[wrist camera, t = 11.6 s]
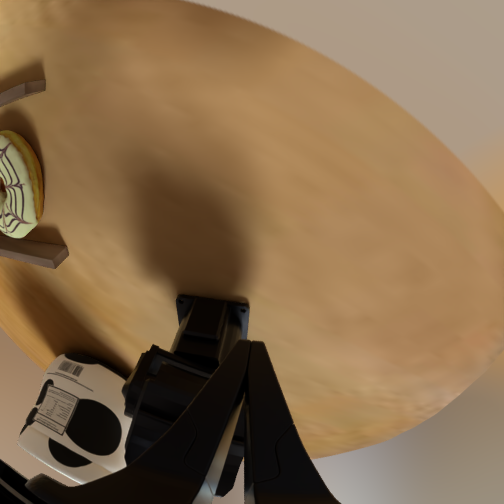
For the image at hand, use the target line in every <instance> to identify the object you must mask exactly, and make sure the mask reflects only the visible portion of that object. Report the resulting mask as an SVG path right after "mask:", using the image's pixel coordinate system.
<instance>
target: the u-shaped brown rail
mask: <svg viewBox="0 0 504 504" xmlns="http://www.w3.org/2000/svg"><path fill="white" fill-rule="evenodd" d="M42 91H45V80H39V81H32V82H25V83H23V84H20V85H18V86H15V87H13V88H11V89H9V90H6V91H4V92H2V93H0V107H1V106H4V105H6V104H9V103H11V102H14V101H16V100H19V99H22V98H24V97H27V96H30V95H33V94H36V93H39V92H42ZM0 256H3V257H7V258H11V259H15V260H18V261H23V262H27V263H31V264H35V265H39V266H43V267H48V268H52V269H56V268H57V267H58V266H59V265H60V264H61V263H62V262H63V261H64V260H65V259H66V258H67V257H68V256H69V253H68V249H67V246H61V245H55V244H48V243H42V242H36V241H30V240H24V239H18V238H12V237H6V236H0Z"/></svg>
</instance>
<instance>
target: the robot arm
mask: <svg viewBox="0 0 504 504" xmlns="http://www.w3.org/2000/svg"><path fill="white" fill-rule="evenodd" d="M181 300H183V301H181ZM176 306H177V313H178V321H179V329H178V332H177V334H176V337H175V339H174V342H173V344H172V347H171V349H170V352H168V351H166V350H163V349H161V348H159V346H156V345H154V344H153V345H152V347H151V348H150V350H149V351H146V353H142V354H141V356H140V359H139V361H138V363H137V365H136V367H135V369H134V371H133V372H132V374H131V375H130V376H129V378H128V379H127V381H126V382H125V384H124V385H123V387H122V391H121V392H122V394H123V396H124V399H125V403H124V405H125V410H124V415H125V416H127V417H129V418H132V421H131V425H130V428H129V431H128V435H127V438H126V442H125V446H124V447H125V454H124V459H125V462H126V467H125V468H123V469H121V470H119V471H117V472H114V473H112V474H109V475H107V476H104V477H101V478H99V479H96V480H93V481H91V482H88V483H85V484H82V485H79V486H75V487H68V486H66V485H64V484H62V483H60V482H58V481H56V480H54V479H52V478H51V477H49V476H47V475H45V474H42V473H41V474H39V475H37V476H35V477H34V478H32V479H30V480H29V479H27V478H26V477H24V476H23V475H21V474H20V473H19V472H18V471H16V470H15V469H14V468H12V467H11V466H10V465H8V464H7V463H5V462H4V461H2V460H1V459H0V504H212V501H213V497H214V496H216V497H224V496H225V495H226V494H227V493H228V492H229V491H230V490H231V489H232V488H233V486H234V482H235V479H236V476H237V473H238V470H239V467H240V464H241V462H242V460H243V457H244V500H245V502H244V504H341V503H340V502H339V501H338V500H337V499H336V498H335V497H334V496H333V495H332V493H331V492H330V491H329V489H328V488H327V486H326V485H325V483H324V481H323V480H322V478H321V476H320V475H319V473H318V471H317V470H316V468H315V466H314V464H313V463H312V461H311V459H310V457H309V456H308V454H307V452H306V450H305V448H304V446H303V444H302V441H301V439H300V437H299V434H298V432H297V429H296V427H295V424H293V423H294V422H293V419H292V416H291V414H290V411H289V408H288V406H287V403H286V400H285V398H284V395H283V392H282V390H281V387H280V384H279V382H278V379H277V376H276V374H275V371H274V368H273V365H272V363H271V360H270V357H269V355H268V352H267V349H266V346H265V344H264V342H262V341H252V342H251V341H250V340H247V333H248V322H249V311H250V307H249V305H247V304H245V303H238V302H230V301H223V300H215V299H208V298H201V297H195V296H188V295H178V296H177V298H176ZM243 309H246V310H243Z"/></svg>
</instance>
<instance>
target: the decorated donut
mask: <svg viewBox="0 0 504 504" xmlns="http://www.w3.org/2000/svg"><path fill="white" fill-rule="evenodd" d="M43 200H44V194H43V180H42V173H41V168H40V163H39V161H38V159H37V156H36V154H35V153H34V151H33V149H32V148H31V146H30V144H28V142H27V141H26V140H25V139H24V138H23V137H22V136H21V135H19V134H17V133H15V132H12V131H9V130H4V131H1V132H0V230H1V231H2V232H3V233H5V234H6V235H8V236H11V237H13V238H22V237H24V236H25V235H26V234H27V233H28V232H30V231H31V230H32V229H33V228H34V227H35V226H36V225H37V224H38V222H39V220H40V218H41V217H42V214H43Z"/></svg>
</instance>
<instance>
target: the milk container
mask: <svg viewBox="0 0 504 504" xmlns="http://www.w3.org/2000/svg"><path fill="white" fill-rule="evenodd" d="M126 381H127V378H125V377H124V376H123V375H122V374H120V373H119V372H117V371H116V370H114V369H112V368H110V367H109V366H107V365H106V364H104V363H102V362H99V361H97V360H95V359H93V358H90V357H88V356H84V355H80V354H76V353H65V354H62V355H60V356H58V357H57V358H56V359H55V360H54V361H53V362H52V363H51V364H50V365H49V367H48V368H47V370H46V372H45V374H44V376H43V380H42V384H41V388H40V393H39V396H38V398H37V401H36V403H35V404H34V406H33V408H32V410H31V411H30V413H29V415H28V417H27V419H26V422H25V425H24V427H23V429H22V431H21V433H20V436H19V439H18V443H17V445H18V446H20V447H21V448H22V449H24V450H25V451H26V452H28V453H29V454H31V455H32V456H34V457H35V458H37V459H38V460H40V461H41V462H43V463H45V464H46V465H48V466H49V467H51V468H53V469H55V470H56V471H58V472H60V473H61V474H63V475H65V476H67V477H69V478H71V479H72V480H75V481H77V482H78V483H80V484H85V483H88V482H91V481H93V480H96V479H99V478H101V477H104V476H107V475H109V474H112V473H114V472H117V471H119V470H121V469H123V468H125V467H126V462H125V459H124V454H125V447H124V446H125V442H126V438H127V435H128V431H129V428H130V425H131V421H132V418H129V417H127V416H125V415H124V410H125V405H124V403H125V399H124V396H123V394H122V392H121V391H122V387H123V385H124V384H125V382H126Z"/></svg>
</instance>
